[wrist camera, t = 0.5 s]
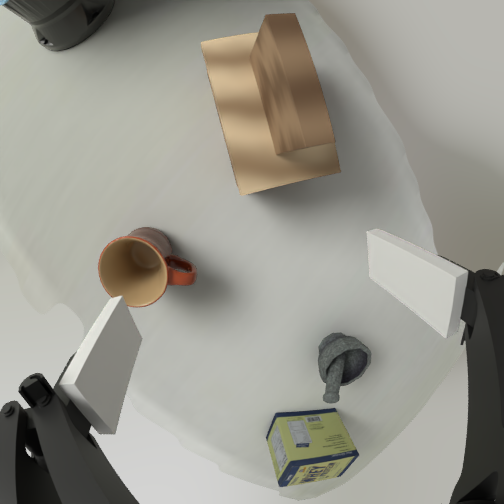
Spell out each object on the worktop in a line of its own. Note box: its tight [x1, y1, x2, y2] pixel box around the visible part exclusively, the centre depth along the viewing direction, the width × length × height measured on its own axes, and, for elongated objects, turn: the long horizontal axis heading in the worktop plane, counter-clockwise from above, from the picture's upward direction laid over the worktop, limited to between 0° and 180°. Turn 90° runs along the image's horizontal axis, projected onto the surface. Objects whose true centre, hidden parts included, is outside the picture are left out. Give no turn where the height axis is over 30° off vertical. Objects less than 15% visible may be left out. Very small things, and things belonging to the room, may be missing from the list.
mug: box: [98, 227, 197, 307], centre depth 34 cm, size 12×9×10 cm
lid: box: [201, 13, 341, 196], centre depth 23 cm, size 19×12×12 cm, turn 14°
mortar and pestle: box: [318, 333, 371, 403], centre depth 43 cm, size 11×9×12 cm
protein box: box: [266, 408, 359, 487], centre depth 48 cm, size 10×16×16 cm
